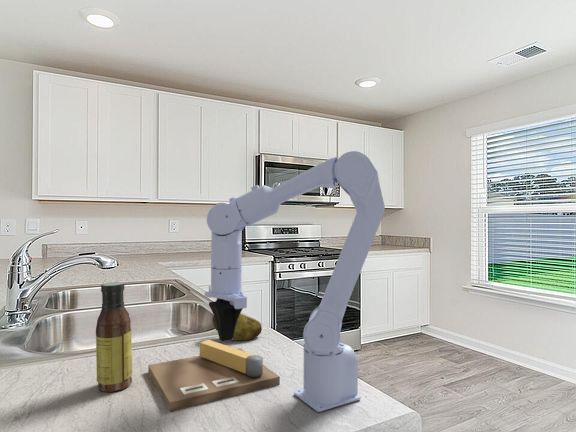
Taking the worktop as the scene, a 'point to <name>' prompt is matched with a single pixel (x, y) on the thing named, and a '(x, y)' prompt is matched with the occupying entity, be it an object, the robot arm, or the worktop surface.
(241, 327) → the potato
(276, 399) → the worktop surface
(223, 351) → the swing bar
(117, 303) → the sauce bottle
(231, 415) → the worktop surface
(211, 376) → the label board
